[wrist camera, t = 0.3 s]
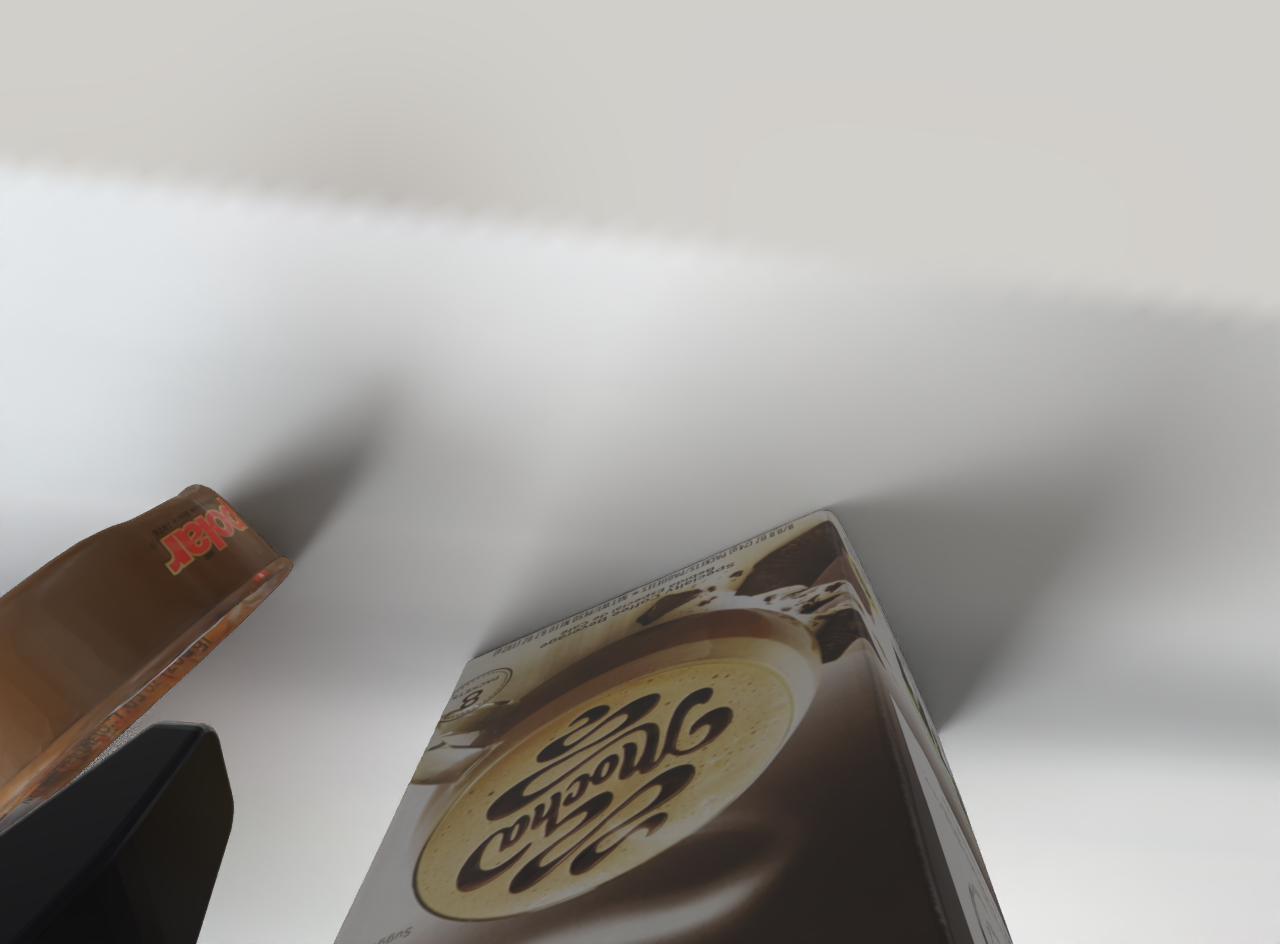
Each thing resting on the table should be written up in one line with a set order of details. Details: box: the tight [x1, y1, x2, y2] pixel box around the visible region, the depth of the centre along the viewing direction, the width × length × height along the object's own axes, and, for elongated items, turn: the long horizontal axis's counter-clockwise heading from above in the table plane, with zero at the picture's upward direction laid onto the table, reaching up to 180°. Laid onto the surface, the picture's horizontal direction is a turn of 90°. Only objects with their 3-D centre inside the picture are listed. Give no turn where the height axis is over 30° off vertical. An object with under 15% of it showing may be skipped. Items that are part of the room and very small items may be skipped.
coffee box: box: [334, 510, 1013, 944], centre depth 17 cm, size 9×6×16 cm
